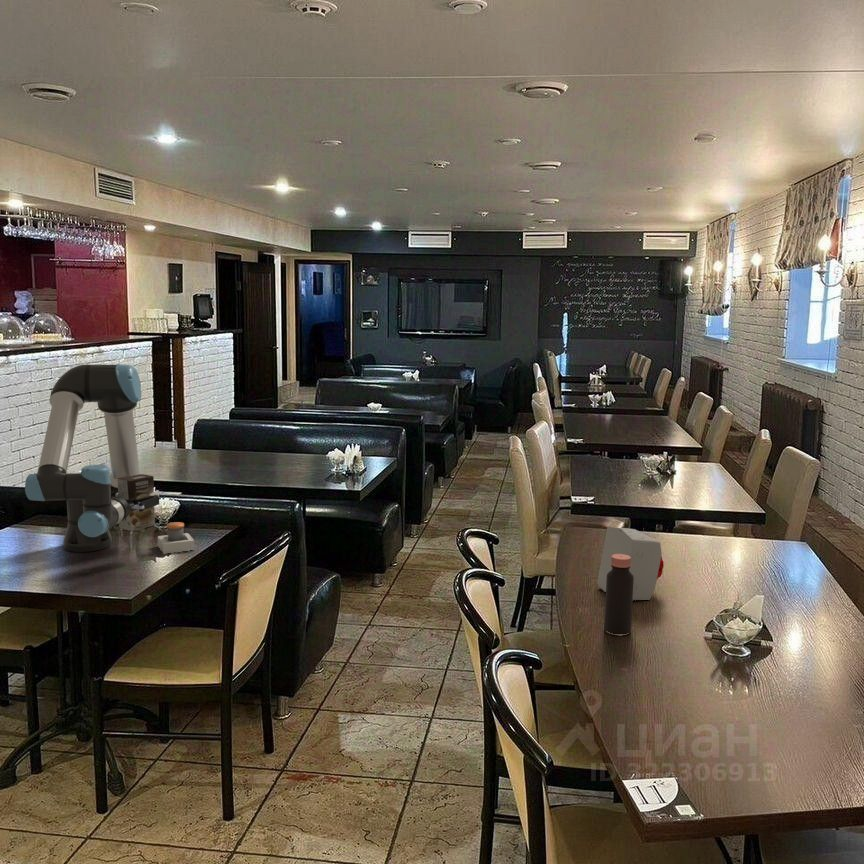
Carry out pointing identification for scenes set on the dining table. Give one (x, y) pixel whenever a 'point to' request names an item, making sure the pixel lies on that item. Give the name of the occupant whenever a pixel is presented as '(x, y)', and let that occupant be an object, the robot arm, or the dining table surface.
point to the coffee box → (137, 489)
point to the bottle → (619, 595)
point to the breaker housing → (175, 544)
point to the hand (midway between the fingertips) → (141, 493)
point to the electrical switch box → (633, 559)
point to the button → (175, 531)
